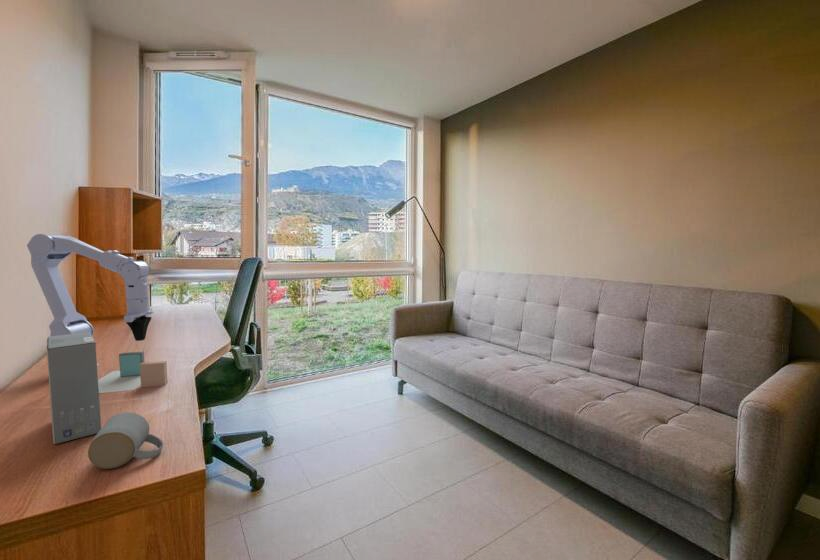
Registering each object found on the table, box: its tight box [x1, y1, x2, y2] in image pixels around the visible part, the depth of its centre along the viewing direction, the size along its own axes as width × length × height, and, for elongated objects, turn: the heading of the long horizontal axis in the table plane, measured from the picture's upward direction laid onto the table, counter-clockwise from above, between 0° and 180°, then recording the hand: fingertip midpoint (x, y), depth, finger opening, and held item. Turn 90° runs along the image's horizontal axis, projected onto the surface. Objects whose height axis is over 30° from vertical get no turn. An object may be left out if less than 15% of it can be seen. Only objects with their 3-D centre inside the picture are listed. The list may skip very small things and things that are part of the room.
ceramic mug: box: [87, 411, 165, 470], centre depth 70 cm, size 11×8×8 cm
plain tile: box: [140, 360, 169, 388], centre depth 106 cm, size 2×6×7 cm, turn 104°
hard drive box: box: [46, 332, 102, 445], centre depth 81 cm, size 16×8×20 cm, turn 44°
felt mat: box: [98, 370, 141, 394], centre depth 110 cm, size 20×14×1 cm
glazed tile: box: [118, 351, 145, 377], centre depth 114 cm, size 2×6×7 cm, turn 104°
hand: (140, 340), depth 120 cm, fingers closed
